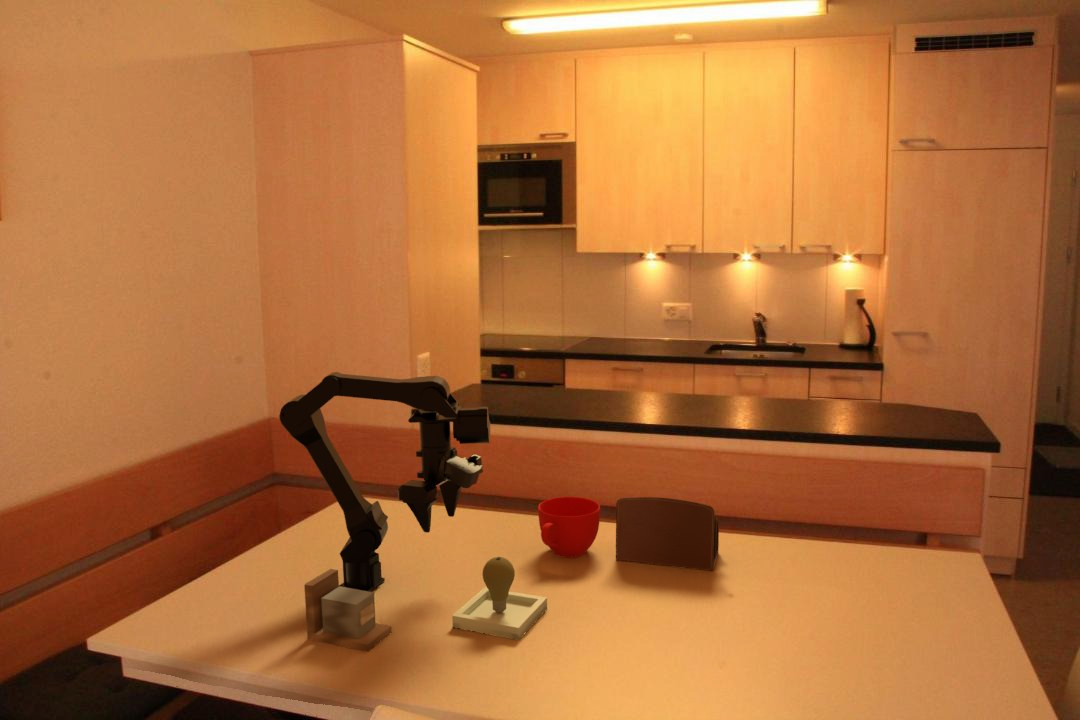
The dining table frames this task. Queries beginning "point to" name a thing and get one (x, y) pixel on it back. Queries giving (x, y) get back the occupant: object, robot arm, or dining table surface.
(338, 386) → the robot arm
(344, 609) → the bookend
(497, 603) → the light bulb
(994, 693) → the dining table surface
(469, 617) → the tray
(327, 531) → the dining table surface
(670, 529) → the letter holder
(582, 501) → the ceramic cup
